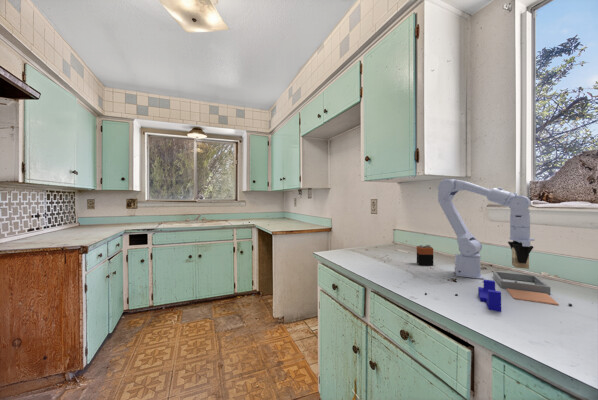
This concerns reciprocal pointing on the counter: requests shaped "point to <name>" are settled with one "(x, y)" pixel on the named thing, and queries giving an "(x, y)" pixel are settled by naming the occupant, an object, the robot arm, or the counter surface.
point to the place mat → (532, 296)
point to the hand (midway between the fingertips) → (520, 261)
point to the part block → (515, 261)
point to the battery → (425, 255)
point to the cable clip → (490, 295)
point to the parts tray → (539, 288)
